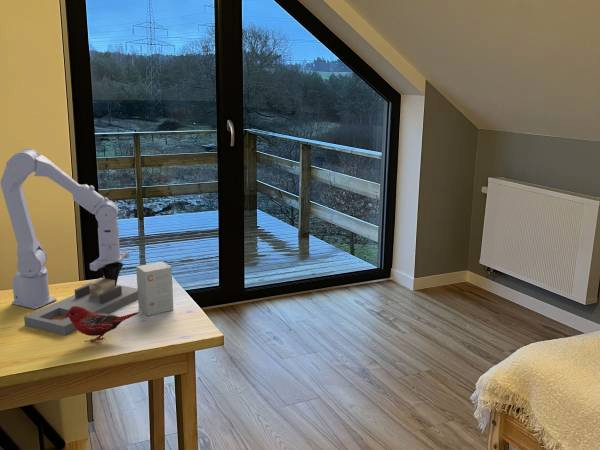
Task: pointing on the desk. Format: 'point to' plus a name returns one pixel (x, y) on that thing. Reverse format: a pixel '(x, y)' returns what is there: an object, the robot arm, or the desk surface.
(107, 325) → the decorative bird figurine
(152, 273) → the small box
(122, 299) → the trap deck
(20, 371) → the desk surface
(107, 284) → the maple block
